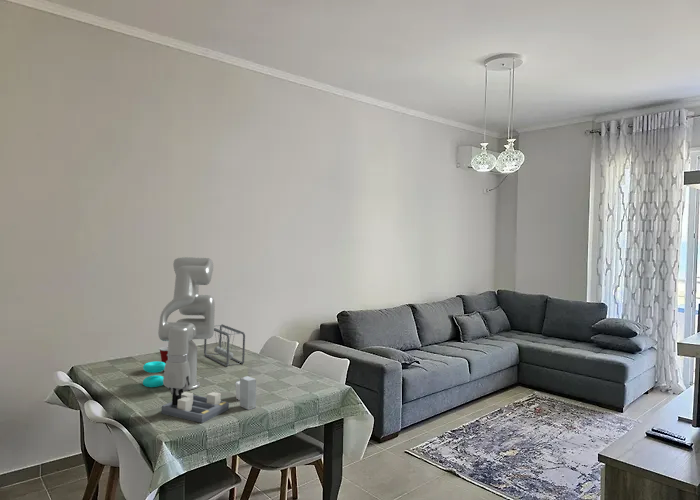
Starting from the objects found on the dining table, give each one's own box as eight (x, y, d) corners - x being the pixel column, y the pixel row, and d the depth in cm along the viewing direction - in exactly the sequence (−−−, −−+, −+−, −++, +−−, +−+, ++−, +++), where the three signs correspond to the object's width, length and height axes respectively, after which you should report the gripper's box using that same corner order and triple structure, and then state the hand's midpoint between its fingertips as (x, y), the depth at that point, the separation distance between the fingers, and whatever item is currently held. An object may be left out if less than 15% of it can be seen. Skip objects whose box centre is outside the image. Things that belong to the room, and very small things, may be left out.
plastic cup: (184, 368, 247) (185, 346, 247) (174, 374, 236) (175, 350, 236) (164, 367, 248) (165, 344, 248) (154, 373, 237) (154, 349, 237)
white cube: (177, 411, 184) (177, 399, 184) (183, 408, 187) (184, 397, 187) (185, 413, 182) (185, 401, 182) (191, 410, 186) (192, 398, 186)
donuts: (138, 364, 216) (153, 359, 226) (137, 386, 216) (152, 380, 226) (156, 367, 214) (170, 361, 223) (156, 389, 214) (170, 382, 223)
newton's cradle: (203, 355, 276) (204, 325, 275) (220, 353, 282) (221, 323, 282) (226, 367, 253) (228, 334, 252) (244, 364, 260) (245, 332, 259)
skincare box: (256, 407, 196) (257, 378, 196) (247, 410, 193) (248, 380, 192) (247, 403, 200) (248, 375, 200) (238, 406, 197) (239, 377, 196)
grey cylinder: (244, 394, 212) (244, 378, 211) (254, 398, 207) (254, 382, 207) (231, 398, 206) (232, 382, 206) (241, 401, 202) (241, 385, 202)
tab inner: (206, 405, 191) (207, 394, 191) (212, 402, 195) (212, 391, 194) (214, 407, 190) (215, 396, 190) (220, 404, 193) (220, 393, 193)
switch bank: (161, 413, 186) (161, 405, 186) (189, 401, 200) (190, 393, 200) (202, 423, 178) (202, 414, 178) (228, 409, 193) (228, 401, 193)
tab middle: (178, 405, 190) (179, 394, 190) (185, 402, 194) (185, 391, 193) (186, 407, 189) (187, 395, 189) (192, 404, 192) (193, 393, 192)
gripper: (156, 357, 185) (154, 403, 186) (186, 362, 179) (184, 410, 180) (170, 353, 192) (169, 398, 193) (199, 358, 186) (198, 404, 187)
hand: (176, 403), depth 186 cm, fingers closed
